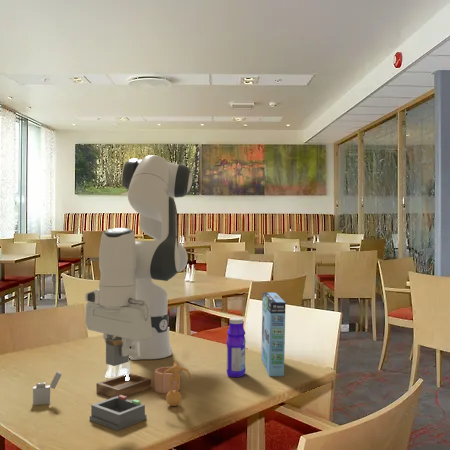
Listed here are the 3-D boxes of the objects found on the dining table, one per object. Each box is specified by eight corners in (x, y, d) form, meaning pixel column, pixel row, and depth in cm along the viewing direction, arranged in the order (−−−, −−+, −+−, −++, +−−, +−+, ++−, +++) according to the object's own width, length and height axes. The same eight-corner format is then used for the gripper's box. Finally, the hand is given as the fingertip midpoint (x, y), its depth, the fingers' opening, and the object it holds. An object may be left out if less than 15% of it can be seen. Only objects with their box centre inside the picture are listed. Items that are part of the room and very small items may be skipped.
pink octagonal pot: (149, 389, 147) (149, 370, 147) (167, 383, 153) (167, 365, 153) (167, 395, 143) (167, 375, 143) (184, 388, 148) (184, 369, 148)
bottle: (243, 379, 158) (243, 321, 157) (224, 377, 159) (224, 320, 158) (247, 371, 165) (247, 316, 164) (229, 370, 166) (229, 315, 165)
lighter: (32, 405, 135) (32, 374, 135) (33, 402, 137) (33, 372, 137) (61, 402, 137) (61, 372, 137) (62, 400, 139) (62, 370, 139)
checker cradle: (89, 420, 126) (89, 403, 125) (118, 409, 133) (118, 393, 133) (117, 430, 119) (117, 413, 119) (146, 418, 127) (146, 402, 126)
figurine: (187, 401, 139) (187, 356, 138) (193, 409, 133) (193, 362, 133) (156, 404, 136) (156, 358, 136) (160, 413, 130) (160, 364, 130)
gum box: (261, 359, 179) (261, 292, 179) (276, 359, 180) (276, 292, 179) (268, 376, 160) (269, 301, 159) (285, 376, 160) (286, 301, 160)
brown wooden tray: (96, 392, 145) (96, 383, 145) (129, 381, 155) (129, 373, 155) (118, 399, 140) (118, 390, 140) (150, 387, 149) (150, 379, 149)
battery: (105, 363, 125) (106, 336, 125) (120, 359, 129) (120, 333, 128) (114, 366, 123) (114, 338, 123) (128, 361, 127) (128, 335, 126)
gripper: (158, 299, 122) (157, 358, 122) (101, 290, 134) (101, 344, 135) (137, 303, 117) (137, 365, 117) (80, 293, 129) (80, 349, 130)
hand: (117, 353), depth 126 cm, fingers closed on battery, 3 cm apart
